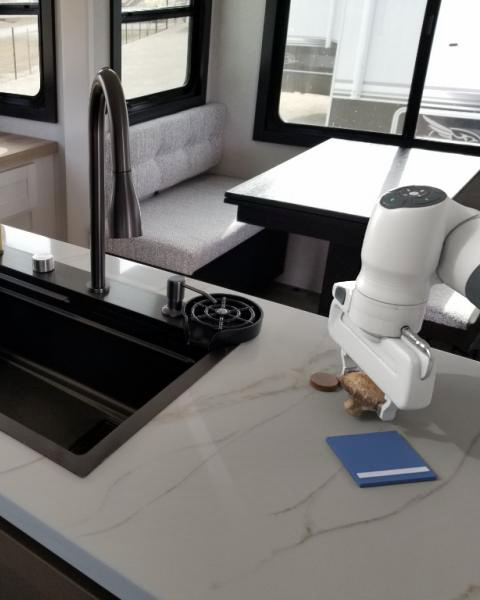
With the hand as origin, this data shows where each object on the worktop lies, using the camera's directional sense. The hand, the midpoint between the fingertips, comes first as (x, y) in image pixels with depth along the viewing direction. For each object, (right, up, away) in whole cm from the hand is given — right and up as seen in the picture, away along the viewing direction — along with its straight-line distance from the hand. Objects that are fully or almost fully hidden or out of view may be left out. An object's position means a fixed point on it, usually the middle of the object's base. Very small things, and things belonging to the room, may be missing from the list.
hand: (366, 396), depth 90 cm
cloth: (-2, -7, -7) cm, 10 cm away
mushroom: (+1, -2, +1) cm, 3 cm away
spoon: (+1, +1, +8) cm, 8 cm away
